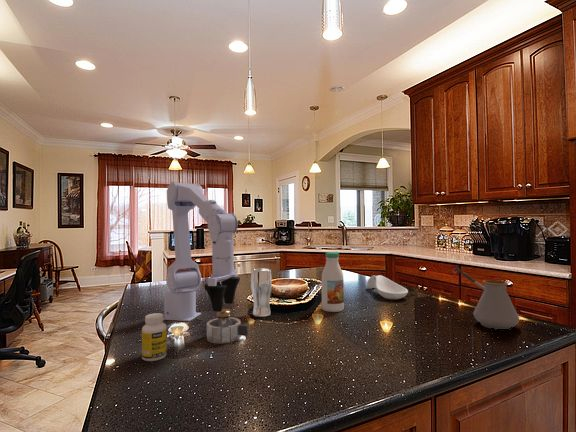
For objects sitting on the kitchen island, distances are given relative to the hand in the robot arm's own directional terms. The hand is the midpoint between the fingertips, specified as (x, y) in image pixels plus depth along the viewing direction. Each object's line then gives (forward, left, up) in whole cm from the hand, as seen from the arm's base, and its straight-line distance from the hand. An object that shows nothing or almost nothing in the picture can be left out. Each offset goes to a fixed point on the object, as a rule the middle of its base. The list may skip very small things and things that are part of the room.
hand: (223, 307), depth 89 cm
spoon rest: (+46, +58, -9) cm, 75 cm away
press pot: (+1, 0, -8) cm, 8 cm away
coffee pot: (+73, +28, -8) cm, 79 cm away
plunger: (0, 0, -8) cm, 8 cm away
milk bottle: (+27, +32, -8) cm, 43 cm away
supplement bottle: (-11, -15, -8) cm, 20 cm away
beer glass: (+4, +22, -8) cm, 24 cm away
